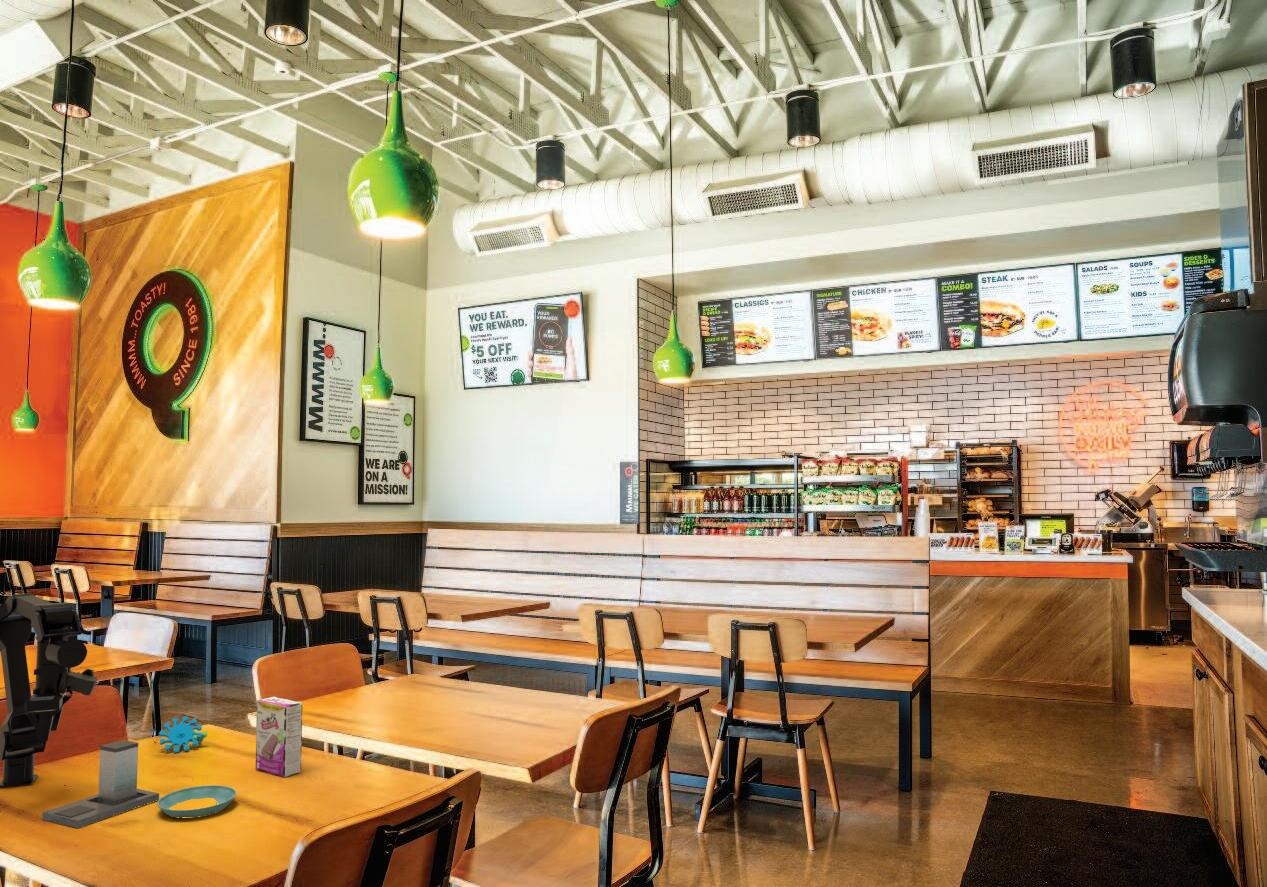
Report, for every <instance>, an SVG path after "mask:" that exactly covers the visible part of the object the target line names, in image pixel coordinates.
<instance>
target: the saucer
mask: <svg viewBox="0 0 1267 887" xmlns="http://www.w3.org/2000/svg"><path fill="white" fill-rule="evenodd" d="M237 792H238V791H236V789H235V788H233V787H230V786H225V785H199V786H198V785H197V786H193V787H187V788H182V789H178V790H175V791H172V792H170V793H167V794H166V795H163V796H162V797H159V800H158V801H156V802H157V804H156V805H157V807H158V808H159V809H160V810H161V811H162V812H163V813H164V814H166V815H167V816H168V815H169V816H168V817H170V816H172V817H171V818H173V817H179V818H182V817H198V816H204V817H206V816H205V815H208V816H210V815H209V814H212V815H214V814H213V813H215V812H217V813H219V812H218V811H220V812H221V810H222V811H223V810H224V809H226V808H227V807H228V806H229V805H230V804H231V803H232V802H233V800H235V797H236V796H237ZM202 798H203V799H204V798H214V799H215V800H216V801H217V802H218V803H219V804H218V805H217V802H216V805H214V806H210V807H206V808H200V809H193V810H170V809H169V808H170V807H172V806H174V805H176V804H177V803H181V802H184V801H187V800H191V799H202ZM215 814H216V813H215ZM179 818H178V819H179ZM198 818H199V817H198Z"/></svg>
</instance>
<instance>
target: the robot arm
mask: <svg viewBox="0 0 1267 887" xmlns="http://www.w3.org/2000/svg"><path fill="white" fill-rule="evenodd" d="M82 628H83V625H82V622H81V620H80V616H79V615H78V613H77V610H76V608H75V607H74V606H73V604H72V603H71V602H55V603H53V602H50V601H48V600H45V599H43V598H40V597H38V596H36V594H35V593H33V594H32V593H29V592H28V593H18V594H12V595H9V596H8V597H7V598H6V600H5V601H4V602H3V603H2V604H0V657H1V664H2V666H1V667H2V674H3V675H2V676H3V683H4V693H5V701H6V708H7V715H6V717H5V719H4V720H3V723H2V724H1V725H0V761H1V762H2V761H3V765H2V766H3V768H2V769H3V770H2V780H1V781H0V789H1V788H9V787H10V786H11V787H18V786H20V787H21V786H28V785H32V784H34V782H35V781H36V780H37V778H38V777H39V774H38V773H34V772H35V771H34V770H35V754H38V753H44V752H45V751H46V750H45V749H46V747H47V746H46V745H47V742H48V741H49V737H50V733H51V732H56V731H57V730H58V727H59V724H60V720H61V716H62V713H63V709H64V706H65V704H66V703H67V702H68V701H69V700H70V699H71V698H72V697H73V696H74V693H75V692H76V693H80V694H82V695H84V696H91V695H92V693H93V691H94V690H95V687H96V685H97V683H98V680H99V678H98V676H95V670H94V669H92V668H91V669H90V668H86V669H85V670H83V671H82V672H80V671H78V672H76V671H72V668H76V667H79V666H80V665H81V664H83V662H84V661H85V660H86V658H87V656H88V648H87V646H86V644H85V643H83V641H80V640H78V636H81V635H82V634H83V633H82ZM32 629H33V630H34V632H35V634H36V636H35V640H37V642H36V662H35V664H36V666H35V669H33V675H34V676H35V684H34V685H35V687H34V688H33V689H31V682H30V675H29V667H28V659H27V652H26V651H27V650H26V644H27V642H28V641H29V639H30V637H31V635H32V632H33V631H32ZM67 693H69V694H67ZM11 787H10V788H11Z"/></svg>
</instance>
